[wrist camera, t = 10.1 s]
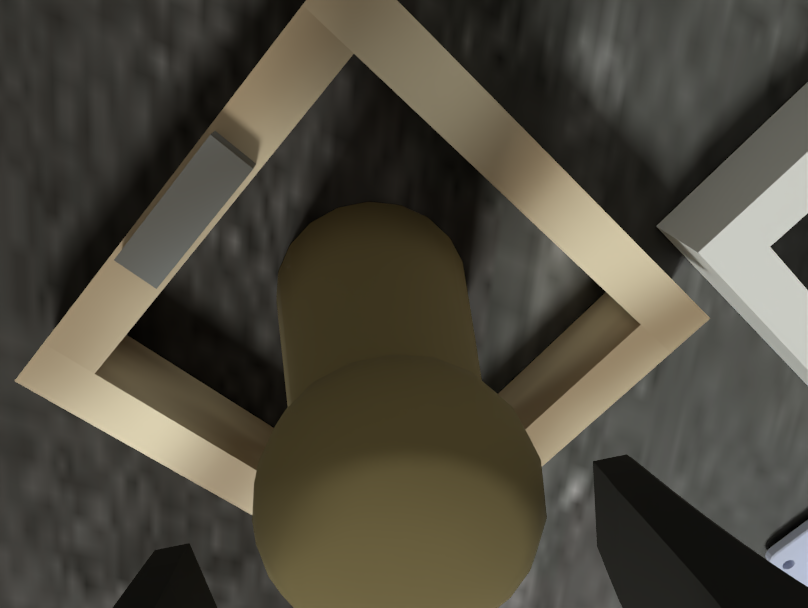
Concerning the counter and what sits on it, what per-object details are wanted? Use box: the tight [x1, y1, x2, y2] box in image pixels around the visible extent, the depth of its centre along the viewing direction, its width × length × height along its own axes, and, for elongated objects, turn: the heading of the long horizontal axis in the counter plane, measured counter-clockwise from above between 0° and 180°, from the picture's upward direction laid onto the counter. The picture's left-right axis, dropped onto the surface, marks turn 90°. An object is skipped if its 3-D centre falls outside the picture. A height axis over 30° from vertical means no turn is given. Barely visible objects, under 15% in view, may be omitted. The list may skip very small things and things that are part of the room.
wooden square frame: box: [15, 0, 710, 515], centre depth 18 cm, size 14×14×3 cm
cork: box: [252, 202, 547, 608], centre depth 15 cm, size 6×6×11 cm
